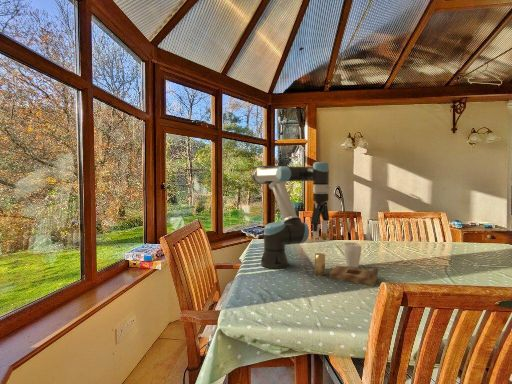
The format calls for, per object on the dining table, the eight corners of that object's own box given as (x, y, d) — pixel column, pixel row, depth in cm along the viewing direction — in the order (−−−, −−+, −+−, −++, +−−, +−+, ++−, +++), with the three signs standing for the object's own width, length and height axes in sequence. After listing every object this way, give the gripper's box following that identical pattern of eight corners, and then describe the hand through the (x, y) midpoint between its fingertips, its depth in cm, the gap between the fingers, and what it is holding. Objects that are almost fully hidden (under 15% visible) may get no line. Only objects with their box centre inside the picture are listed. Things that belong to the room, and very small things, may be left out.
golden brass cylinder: (313, 274, 145) (313, 255, 144) (316, 271, 149) (316, 252, 149) (323, 276, 142) (323, 256, 142) (326, 273, 147) (326, 254, 146)
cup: (349, 269, 153) (350, 246, 153) (340, 264, 162) (340, 243, 161) (364, 267, 156) (364, 245, 155) (354, 262, 164) (354, 242, 164)
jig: (329, 277, 140) (329, 267, 140) (336, 270, 150) (336, 261, 150) (373, 286, 130) (373, 275, 130) (377, 277, 140) (377, 267, 140)
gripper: (319, 194, 131) (319, 240, 132) (335, 192, 152) (334, 231, 153) (304, 194, 135) (304, 239, 136) (321, 191, 156) (321, 230, 157)
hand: (320, 235), depth 145 cm, fingers open, 13 cm apart
